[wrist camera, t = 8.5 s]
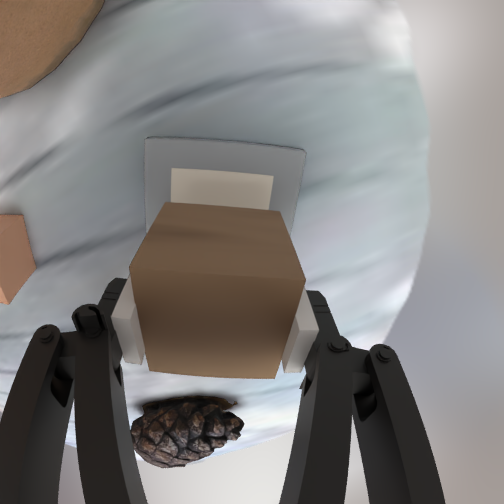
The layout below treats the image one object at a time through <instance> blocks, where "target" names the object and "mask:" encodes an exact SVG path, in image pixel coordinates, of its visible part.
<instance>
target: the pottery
mask: <svg viewBox="0 0 504 504" xmlns="http://www.w3.org/2000/svg"><path fill="white" fill-rule="evenodd" d="M103 3H104V0H0V98H3V97H6V96H10V95H13V94H15V93H18V92H21V91H24V90H26V89H29V88H31V87H32V86H34V85H35V84H36V83H37V82H39V81H40V80H41V79H43V78H44V77H45V76H47V75H48V74H49V73H51V72H52V71H53V70H55V69H56V68H57V66H58V65H59V64H60V63H61V62H62V61H63V59H64V58H65V57H66V56H67V55H68V54H69V53H70V52H71V50H72V49H73V48H74V47H75V46H76V45H77V44H78V43H79V42H80V41H81V39H82V38H83V36H84V34H85V33H86V31H87V29H88V28H89V26H90V25H91V23H92V22H93V20H94V19H95V17H96V16H97V14H98V13H99V11H100V10H101V8H102V6H103Z"/></svg>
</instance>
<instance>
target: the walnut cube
mask: <svg viewBox="0 0 504 504" xmlns="http://www.w3.org/2000/svg"><path fill="white" fill-rule="evenodd" d="M129 270H130V277H131V283H132V290H133V296H134V302H135V304H136V308H137V313H138V319H139V324H140V329H141V333H142V338H143V342H144V347H145V355H146V359H147V363H148V367H149V371H154V372H162V373H171V374H180V375H191V376H204V377H220V378H247V379H275V376H276V373H277V371H278V368H279V365H280V362H281V359H282V355H283V352H284V349H285V346H286V343H287V340H288V337H289V334H290V331H291V327H292V324H293V321H294V318H295V315H296V312H297V309H298V306H299V302H300V299H301V295H302V292H303V289H304V285H305V282H306V278H305V276H304V273H303V270H302V268H301V265H300V262H299V260H298V257H297V254H296V251H295V249H294V246H293V244H292V241H291V238H290V236H289V233H288V231H287V228H286V225H285V223H284V220H283V218H282V215H281V213H280V211H273V210H263V209H252V208H241V207H230V206H217V205H204V204H190V203H174V202H165V203H164V205H163V207H162V208H161V210H160V212H159V213H158V215H157V217H156V218H155V220H154V222H153V224H152V225H151V227H150V229H149V231H148V233H147V234H146V236H145V238H144V240H143V242H142V243H141V245H140V247H139V249H138V251H137V253H136V255H135V257H134V259H133V260H132V262H131V264H130V266H129Z"/></svg>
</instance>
